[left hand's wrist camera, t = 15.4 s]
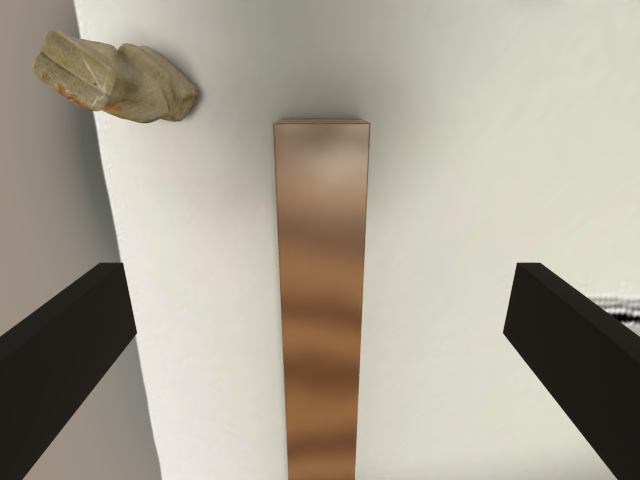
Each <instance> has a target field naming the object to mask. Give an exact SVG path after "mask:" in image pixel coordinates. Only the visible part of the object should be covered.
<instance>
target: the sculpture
mask: <svg viewBox="0 0 640 480" xmlns="http://www.w3.org/2000/svg"><path fill="white" fill-rule="evenodd" d="M32 68H33V72H34V74H35V75H36V76H37V77H38V78H39V79H40V80H41V81H42V82H44V83H45V84H46V85H48V86H49V87H51V88H52V89H53V90H55V91H57V92H58V93H60V94H61V95H63V96H64V97H66V98H68V99H69V100H71V101H73V102H75V104H76V105H77V106H78V107H80V108H87V109H89V110H92V111H100V110H102V111H104V112H107V113H109V114H111V115H114V116H117V117H119V118H122V119H128V120H131V121H135V122H139V123H150V122H154V121H156V120H158V119H160V118H161V119H164V120H168V121H175V122H176V121H182V120H183V119H184V118H185V116H186V115H187V113H188V112H189V111H190V109H191V107H192V106H193V104H194V102H195V99H196V95H197V93H198V88H197V87H196V86H195V85H194V84H192V83H191V82H189V81H188V80H187V79H186V78H185V77H184V75H183V74H182V73H181V72H180V71H179V70H178V69H177V68H175V67H174V66H173V65H172V64H171V63H169V62H168V61H167V60H166V59H164V58H163V57H162V56H161V55H159V54H158V53H156V52H155V51H154V50H152V49H151V48H149V47H147V46H140V47H137V46H135V45H132V44H123V45H122V46H121V47H120V48H119V49H118V50H116V48H115V47H114V46H112V45H109V44H105V43H100V42H94V41H89V40H84V39H79V38H73V37H69V36H68V35H66V34H64V33H62V32H60V31H57V30H54V29H49V30H48V31H47V32H46V33H45V35H44V43H43V47H42V49H41V51H40V52H39V54H38V55H37V57H36V58H35V60H34V62H33V67H32Z"/></svg>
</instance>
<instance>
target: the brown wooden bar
mask: <svg viewBox="0 0 640 480" xmlns="http://www.w3.org/2000/svg"><path fill="white" fill-rule="evenodd" d="M273 128H274V151H275V175H276V198H277V221H278V244H279V267H280V291H281V314H282V337H283V360H284V384H285V407H286V430H287V453H288V477H289V480H355V461H356V438H357V415H358V392H359V368H360V345H361V322H362V299H363V276H364V253H365V230H366V207H367V184H368V161H369V138H370V123H368V122H366V121H364V120H362V119H281V120H279V121H277V122H275V123H274V124H273Z"/></svg>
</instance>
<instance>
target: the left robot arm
mask: <svg viewBox="0 0 640 480" xmlns="http://www.w3.org/2000/svg"><path fill="white" fill-rule="evenodd" d="M136 334H137V330H136V325H135V320H134V315H133V310H132V305H131V300H130V295H129V290H128V285H127V280H126V275H125V271H124V266H123V263H99V264H98V265H96V266H95V267H94V268H92V269H91V270H90V271H88V272H87V273H85V274H84V275H83V276H81V277H80V278H79V279H77V280H76V281H75V282H73V283H72V284H71V285H69V286H68V287H67V288H65V289H64V290H63V291H61V292H60V293H59V294H57V295H56V296H55V297H53V298H52V299H50V300H49V301H48V302H46V303H45V304H44V305H42V306H41V307H40V308H38V309H37V310H36V311H34V312H33V313H32V314H30V315H29V316H28V317H26V318H25V319H24V320H22V321H21V322H20V323H18V324H17V325H15V326H14V327H13V328H11V329H10V330H9V331H7V332H6V333H5V334H3V335H2V336H1V337H0V480H22V479H23V478H24V477H25V476H26V474H27V473H28V472H29V470H30V469H31V468H32V467H33V465H34V464H35V463H36V462H37V460H38V459H39V458H40V456H41V455H42V454H43V453H44V451H45V450H46V449H47V448H48V446H49V445H50V444H51V442H52V441H53V440H54V439H55V437H56V436H57V435H58V433H59V432H60V431H61V430H62V428H63V427H64V426H65V425H66V423H67V422H68V421H69V419H70V418H71V417H72V416H73V414H74V413H75V412H76V410H77V409H78V408H79V407H80V405H81V404H82V403H83V402H84V400H85V399H86V398H87V396H88V395H89V394H90V392H91V391H92V390H93V389H94V387H95V386H96V385H97V384H98V382H99V381H100V380H101V379H102V377H103V376H104V375H105V373H106V372H107V371H108V370H109V368H110V367H111V366H112V364H113V363H114V362H115V361H116V359H117V358H118V357H119V355H120V354H121V353H122V352H123V350H124V349H125V348H126V347H127V345H128V344H129V343H130V341H131V340H132V339H133V338H134V336H135V335H136ZM503 334H504V335H505V336H506V338H507V339H508V340H509V341H510V343H511V344H512V345H513V347H514V348H515V349H516V350H517V352H518V353H519V354H520V356H521V357H522V358H523V359H524V361H525V362H526V363H527V364H528V366H529V367H530V368H531V370H532V371H533V372H534V373H535V375H536V376H537V377H538V379H539V380H540V381H541V382H542V384H543V385H544V386H545V387H546V389H547V390H548V391H549V393H550V394H551V395H552V396H553V398H554V399H555V400H556V402H557V403H558V404H559V405H560V407H561V408H562V409H563V410H564V412H565V413H566V414H567V416H568V417H569V418H570V419H571V421H572V422H573V423H574V425H575V426H576V427H577V428H578V430H579V431H580V432H581V433H582V435H583V436H584V437H585V439H586V440H587V441H588V442H589V444H590V445H591V446H592V448H593V449H594V450H595V451H596V453H597V454H598V455H599V456H600V458H601V459H602V460H603V462H604V463H605V464H606V465H607V467H608V468H609V469H610V471H611V472H612V473H613V474H614V476H615V477H616V478H617V479H618V480H640V337H639V336H638V335H637V334H635V333H634V332H633V331H631V330H630V329H629V328H627V327H626V326H625V325H623V324H622V323H621V322H619V321H618V320H616V319H615V318H614V317H612V316H611V315H610V314H608V313H607V312H606V311H604V310H603V309H602V308H600V307H599V306H598V305H596V304H595V303H594V302H592V301H591V300H590V299H588V298H587V297H586V296H584V295H583V294H581V293H580V292H579V291H577V290H576V289H575V288H573V287H572V286H571V285H569V284H568V283H567V282H565V281H564V280H563V279H561V278H560V277H559V276H557V275H556V274H555V273H553V272H552V271H550V270H549V269H548V268H546V267H545V266H544V265H542V264H541V263H517V266H516V271H515V275H514V280H513V285H512V290H511V295H510V300H509V305H508V310H507V315H506V320H505V325H504V330H503Z"/></svg>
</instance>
